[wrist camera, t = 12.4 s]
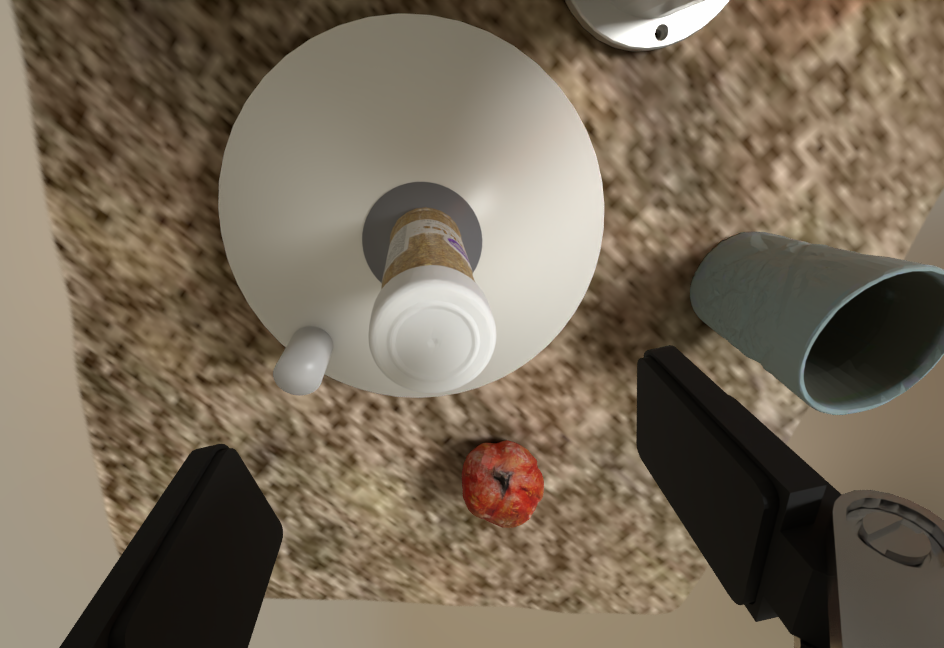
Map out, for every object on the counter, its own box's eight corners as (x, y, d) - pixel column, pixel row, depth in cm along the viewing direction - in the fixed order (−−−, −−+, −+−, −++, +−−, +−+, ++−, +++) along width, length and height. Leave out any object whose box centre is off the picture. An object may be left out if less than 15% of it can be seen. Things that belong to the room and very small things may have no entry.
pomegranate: (529, 454, 44) (557, 434, 35) (529, 530, 41) (559, 530, 32) (460, 447, 43) (471, 425, 35) (453, 524, 40) (464, 522, 31)
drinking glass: (659, 286, 34) (770, 361, 24) (761, 191, 32) (937, 227, 21) (721, 351, 38) (841, 440, 28) (817, 270, 36) (989, 335, 25)
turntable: (430, -84, 22) (438, -171, 16) (642, 241, 32) (702, 273, 25) (161, 217, 27) (79, 249, 20) (417, 419, 37) (417, 486, 30)
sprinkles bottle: (474, 232, 26) (525, 325, 14) (435, 288, 28) (452, 416, 16) (413, 190, 25) (412, 256, 13) (374, 252, 26) (341, 364, 14)
